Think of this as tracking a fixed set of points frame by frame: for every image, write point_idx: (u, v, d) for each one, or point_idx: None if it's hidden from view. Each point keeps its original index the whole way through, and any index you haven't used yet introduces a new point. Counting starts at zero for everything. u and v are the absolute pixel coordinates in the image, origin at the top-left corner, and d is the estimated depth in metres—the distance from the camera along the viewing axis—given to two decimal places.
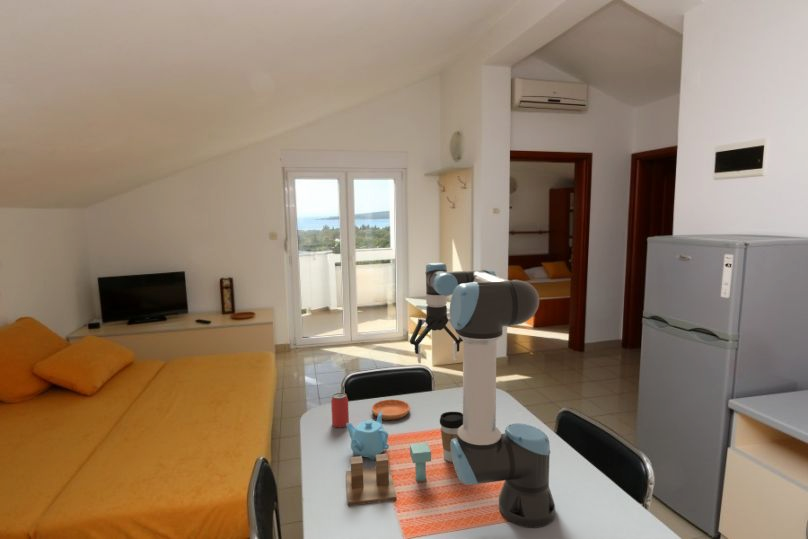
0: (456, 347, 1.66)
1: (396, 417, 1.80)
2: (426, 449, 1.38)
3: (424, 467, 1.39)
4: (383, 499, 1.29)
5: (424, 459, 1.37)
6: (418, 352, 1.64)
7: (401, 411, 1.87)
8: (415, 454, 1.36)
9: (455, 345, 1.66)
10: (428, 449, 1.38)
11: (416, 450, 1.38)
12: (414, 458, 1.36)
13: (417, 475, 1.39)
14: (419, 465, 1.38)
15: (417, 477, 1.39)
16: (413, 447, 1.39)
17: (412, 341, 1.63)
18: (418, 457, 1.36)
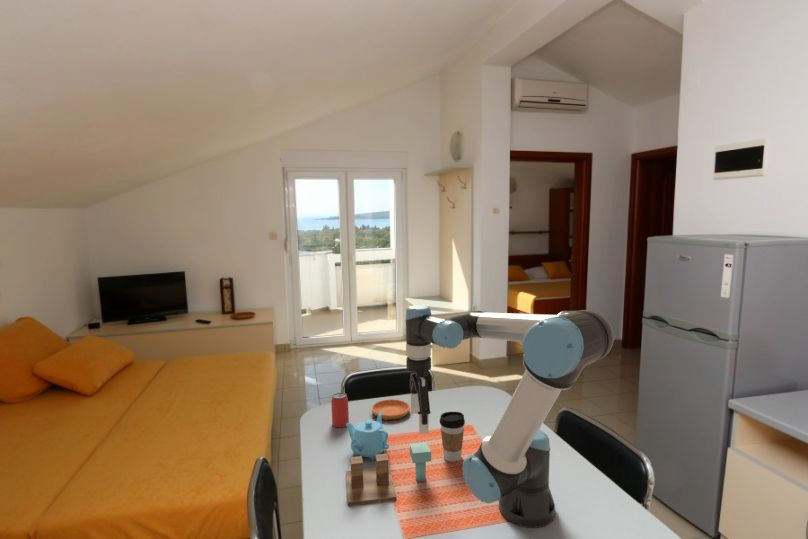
0: (419, 417, 1.30)
1: (396, 417, 1.80)
2: (426, 449, 1.38)
3: (424, 467, 1.39)
4: (383, 499, 1.29)
5: (424, 459, 1.37)
6: None
7: (401, 411, 1.87)
8: (415, 454, 1.36)
9: (419, 414, 1.31)
10: (428, 449, 1.38)
11: (416, 450, 1.38)
12: (414, 458, 1.36)
13: (417, 475, 1.39)
14: (419, 465, 1.38)
15: (417, 477, 1.39)
16: (413, 447, 1.39)
17: None
18: (418, 457, 1.36)
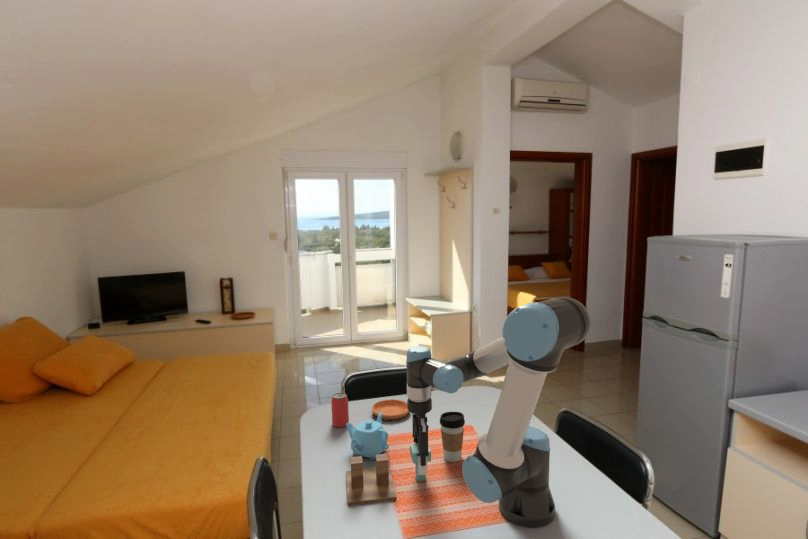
0: (418, 459, 1.36)
1: (396, 417, 1.80)
2: None
3: None
4: (383, 499, 1.29)
5: None
6: None
7: (401, 411, 1.87)
8: (415, 454, 1.36)
9: None
10: (428, 449, 1.38)
11: (416, 450, 1.38)
12: (414, 458, 1.36)
13: (417, 475, 1.39)
14: None
15: (417, 477, 1.39)
16: (413, 447, 1.39)
17: None
18: None
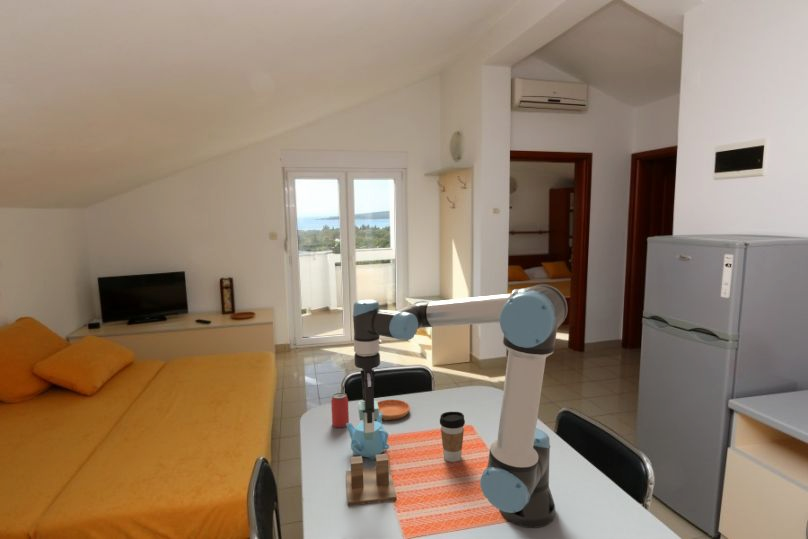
0: None
1: (396, 417, 1.80)
2: (374, 406, 1.33)
3: None
4: (383, 499, 1.29)
5: None
6: None
7: (401, 411, 1.87)
8: (362, 411, 1.31)
9: (364, 412, 1.31)
10: (376, 406, 1.33)
11: (363, 407, 1.32)
12: (361, 415, 1.31)
13: (365, 433, 1.34)
14: None
15: (365, 435, 1.34)
16: (361, 404, 1.34)
17: None
18: None
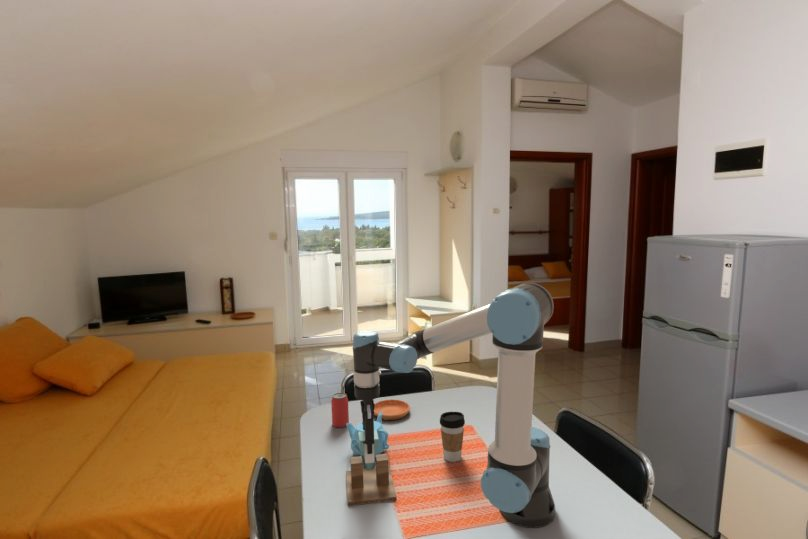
0: None
1: (396, 417, 1.80)
2: (374, 436, 1.34)
3: None
4: (383, 499, 1.29)
5: None
6: None
7: (401, 411, 1.87)
8: (362, 442, 1.32)
9: (364, 443, 1.32)
10: (376, 437, 1.34)
11: (363, 438, 1.33)
12: (361, 446, 1.32)
13: (365, 463, 1.35)
14: None
15: (365, 465, 1.35)
16: (361, 435, 1.35)
17: None
18: None
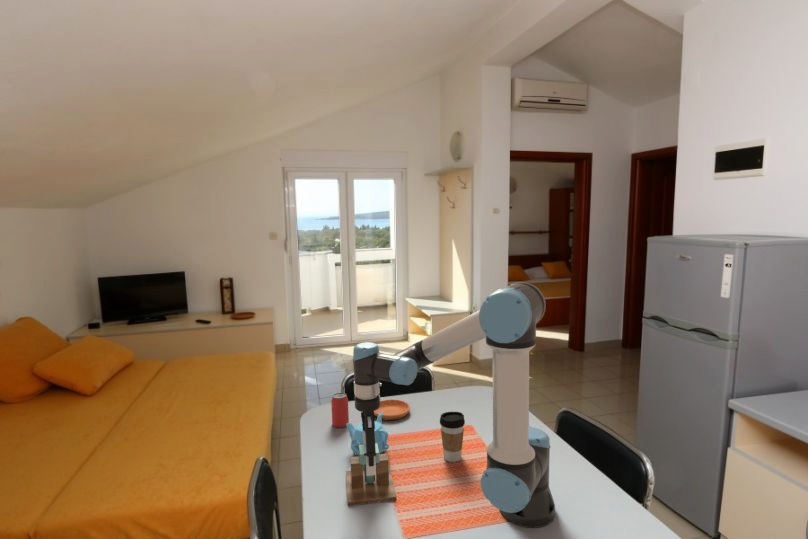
0: (366, 459, 1.28)
1: (396, 417, 1.80)
2: None
3: None
4: (383, 499, 1.29)
5: None
6: None
7: (401, 411, 1.87)
8: (362, 455, 1.32)
9: (365, 455, 1.29)
10: (377, 450, 1.34)
11: (364, 451, 1.34)
12: (361, 459, 1.32)
13: (366, 477, 1.35)
14: None
15: (366, 479, 1.35)
16: (362, 448, 1.36)
17: (362, 423, 1.43)
18: None
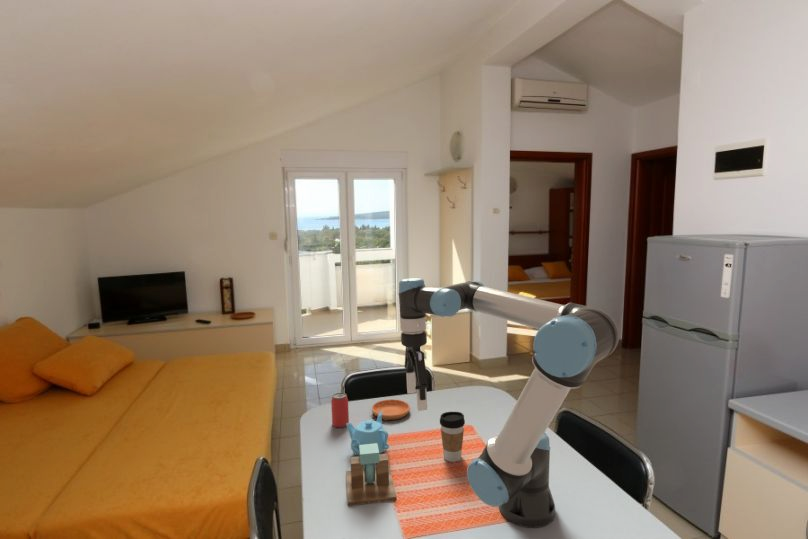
0: (417, 393, 1.26)
1: (396, 417, 1.80)
2: (375, 450, 1.34)
3: (373, 468, 1.35)
4: (383, 499, 1.29)
5: (372, 460, 1.33)
6: None
7: (401, 411, 1.87)
8: (362, 455, 1.32)
9: None
10: (377, 450, 1.34)
11: (364, 451, 1.34)
12: (361, 459, 1.32)
13: (366, 477, 1.35)
14: (367, 466, 1.34)
15: (366, 479, 1.35)
16: (362, 448, 1.36)
17: None
18: (366, 458, 1.33)
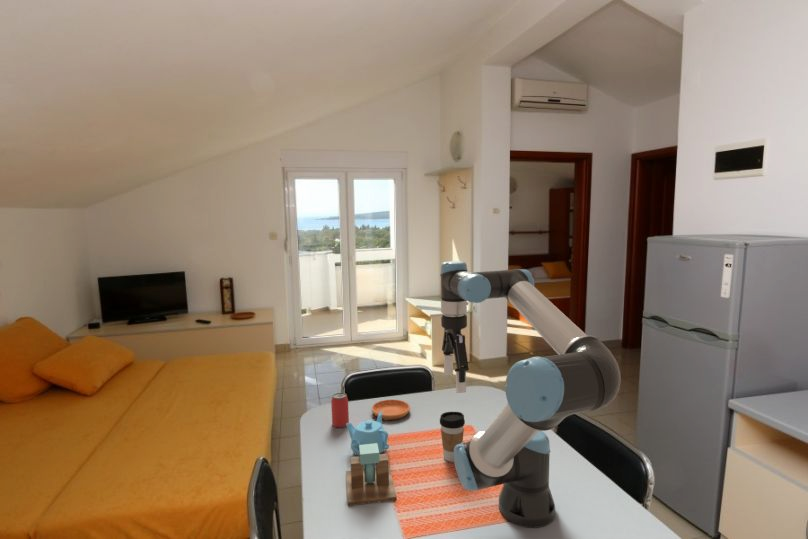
0: (456, 375, 1.26)
1: (396, 417, 1.80)
2: (375, 450, 1.34)
3: (373, 468, 1.35)
4: (383, 499, 1.29)
5: (372, 460, 1.33)
6: None
7: (401, 411, 1.87)
8: (362, 455, 1.32)
9: (456, 372, 1.26)
10: (377, 450, 1.34)
11: (364, 451, 1.34)
12: (361, 459, 1.32)
13: (366, 477, 1.35)
14: (367, 466, 1.34)
15: (366, 479, 1.35)
16: (362, 448, 1.36)
17: (442, 347, 1.42)
18: (366, 458, 1.33)
